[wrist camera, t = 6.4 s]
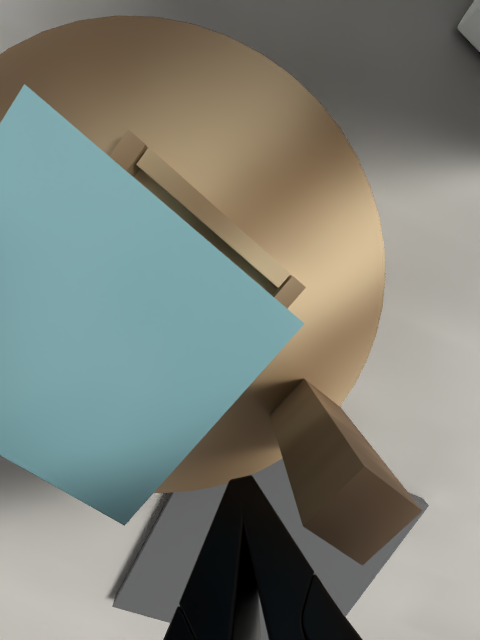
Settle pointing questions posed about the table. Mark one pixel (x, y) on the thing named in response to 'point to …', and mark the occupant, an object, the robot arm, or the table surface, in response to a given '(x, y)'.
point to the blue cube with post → (112, 319)
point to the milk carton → (471, 24)
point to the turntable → (247, 240)
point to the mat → (191, 530)
